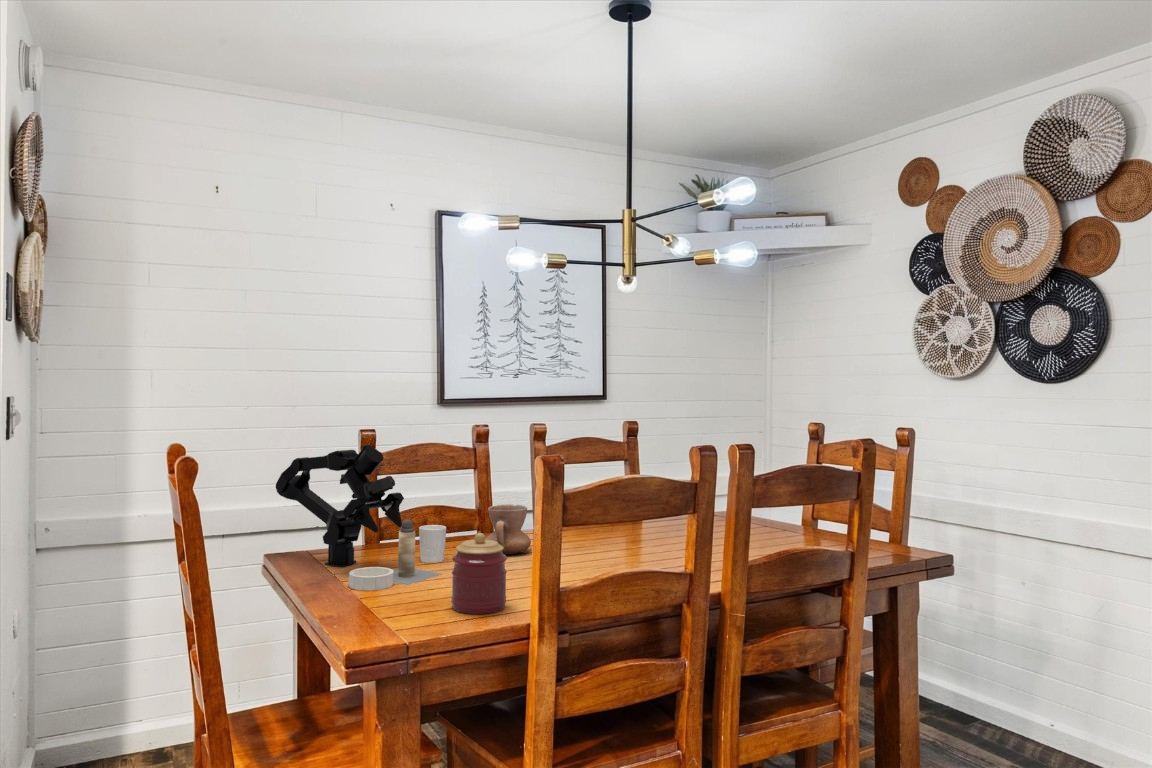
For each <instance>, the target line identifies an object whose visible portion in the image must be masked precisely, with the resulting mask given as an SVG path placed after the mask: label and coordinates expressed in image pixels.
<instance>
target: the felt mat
mask: <svg viewBox="0 0 1152 768" xmlns="http://www.w3.org/2000/svg"><path fill="white" fill-rule="evenodd" d="M393 570H394V576H393V583H395V584H396V583H397V584H402V585H406V586H409V585H413V584H416V583H419V582H422V581H426V580H429V579H433V578H435V577H439V576H441V575H443V573H440V572H434V571H428V570H423V569H419V568H415V576H413V577H406V578H405V577H399V576H398V568H395V569H393Z"/></svg>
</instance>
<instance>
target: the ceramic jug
mask: <svg viewBox="0 0 1152 768" xmlns="http://www.w3.org/2000/svg"><path fill="white" fill-rule="evenodd" d="M487 511H488V516H489V520H490V521H491V524H492V527H493V529H494V531H493V532H492V533H490V534H489V535H488V536H486V537H485V538H486V540H493V541H496V542H498V544H500V545H501V546H503V547H504V549H503V550H502V553H503V554H504V555H515V554H516V553H517V554H522V553H524V552H525V551H527V550H528V549H529V548H530V546H531V545H532V544H531V543H532V541H531V537H530V536H529V535H527V533H525V532H524V531H522V529H523V526H524V524H525V521H526V517H527V513H528V506H526V505H522V504H512V503H510V504H509V503H507V504H506V503H505V504H503V503H502V504H495V505H491V506H489V507H488V509H487Z"/></svg>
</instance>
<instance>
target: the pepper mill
mask: <svg viewBox="0 0 1152 768" xmlns="http://www.w3.org/2000/svg"><path fill="white" fill-rule="evenodd" d="M399 529H400V530H399V531H398V556H397V558H398V560H397V561H398V562H397V563H398V564H397V566H398V568H397V569H398V576H399V577H405V578H406V577H413V576H415V569H416V568H415V567H416V565H415V564H416V530H415V527H414V523H413V521H412V520H411V519H408V518H406V519H404V520H402V526H401V527H400V528H399Z"/></svg>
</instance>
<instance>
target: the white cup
mask: <svg viewBox="0 0 1152 768" xmlns="http://www.w3.org/2000/svg"><path fill="white" fill-rule="evenodd" d="M418 530H419V531H418V532H419V533H418V534H419V536H418V538H419V540H418V541H419V554H420V562H422V563H427V564H429V563H430V564H435V563H440V562H443V561H445V560H444V559H445V551H446V538H447V526H445V525H440V524H427V525H421V526H419V528H418Z"/></svg>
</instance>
